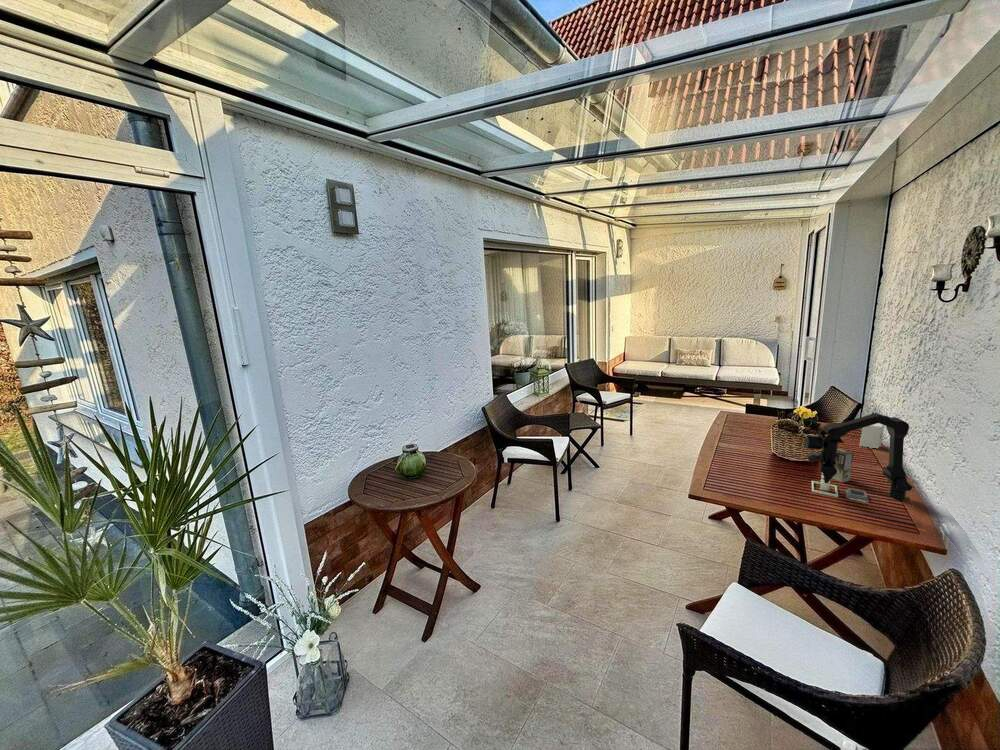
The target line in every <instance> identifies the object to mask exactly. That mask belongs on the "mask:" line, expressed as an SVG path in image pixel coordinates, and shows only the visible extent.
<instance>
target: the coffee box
mask: <svg viewBox="0 0 1000 750" xmlns="http://www.w3.org/2000/svg"><path fill="white" fill-rule="evenodd" d="M854 454H855V453H854V452H851V451H849V450H845V449H843V448H840V447H839V448H838V449H837V457H836V465H835V464H834V465H835V466H836V467H837V474H835V475H834V476H833V477H832V478H831V480H832V479H833V480H835V481H837V482H840V483H845V482H846V483H847V482H849V481H850V480H851V475H852V473H851V472H852V466H853V460H854Z"/></svg>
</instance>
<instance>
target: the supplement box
mask: <svg viewBox="0 0 1000 750" xmlns="http://www.w3.org/2000/svg"><path fill="white" fill-rule="evenodd" d="M861 429H862V430H861V434H860V441H859V447H862V446H863V448H867V447H869V448H868V449H872V448H879V447H880V448H881V445H882V441H883V440H882V439H883V433H884V430H885V425H883V424H880V423H877V424H874V425H870V426H867V427H863V428H861ZM880 448H879V449H880Z"/></svg>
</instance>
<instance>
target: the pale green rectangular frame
mask: <svg viewBox="0 0 1000 750" xmlns="http://www.w3.org/2000/svg"><path fill="white" fill-rule="evenodd" d="M815 484H816V485H820V484H821V481H815V480H811V492H812V493H815V494H821V495H824V496H829V497H835V498H839V492H838V491H839V490H838V487H837V484H836V485H835V484H831V483H830V487H831V488H834V491H835V492H834V493H830V492H826V491H822V490H817V489H815V486H814V485H815ZM830 487H829V488H830Z"/></svg>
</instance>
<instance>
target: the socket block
mask: <svg viewBox="0 0 1000 750" xmlns="http://www.w3.org/2000/svg"><path fill="white" fill-rule="evenodd" d="M844 490H845V495H846V499H847V500H853V501H859V502H863V503H867V504H869V503H870V502H869V501H870V500H869V497H868V494H867V492H866V491H865V490H864V491H863V490H859V489H855V488H854V489H853V488H848V487H847V489H844Z"/></svg>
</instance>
